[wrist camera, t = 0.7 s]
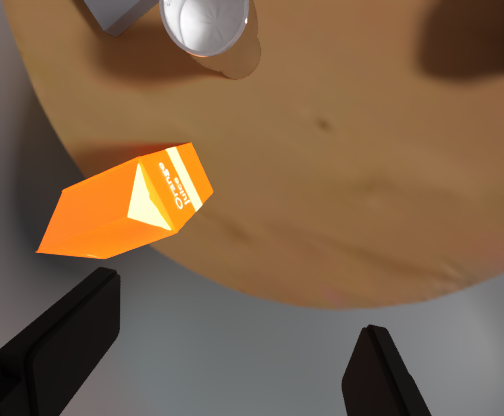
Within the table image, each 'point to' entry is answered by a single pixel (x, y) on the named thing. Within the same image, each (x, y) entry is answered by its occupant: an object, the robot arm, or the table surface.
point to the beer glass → (215, 33)
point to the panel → (118, 13)
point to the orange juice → (128, 205)
